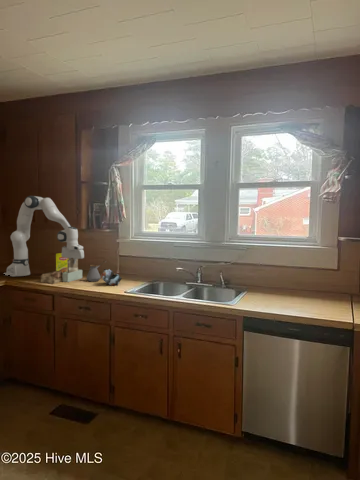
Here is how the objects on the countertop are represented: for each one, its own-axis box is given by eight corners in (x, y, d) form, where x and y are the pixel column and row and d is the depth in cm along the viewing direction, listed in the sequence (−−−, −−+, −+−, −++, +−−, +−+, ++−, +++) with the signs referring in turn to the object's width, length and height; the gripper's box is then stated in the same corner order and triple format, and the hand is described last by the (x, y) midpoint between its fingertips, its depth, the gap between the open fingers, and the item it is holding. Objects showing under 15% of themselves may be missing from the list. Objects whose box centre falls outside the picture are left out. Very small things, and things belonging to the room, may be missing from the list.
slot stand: (62, 281, 279) (62, 272, 278) (77, 277, 296) (77, 269, 296) (67, 282, 277) (67, 273, 277) (82, 277, 294) (82, 269, 294)
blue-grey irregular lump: (117, 286, 265) (108, 271, 262) (104, 291, 269) (95, 276, 266) (124, 277, 278) (116, 262, 275) (112, 282, 283) (104, 267, 279)
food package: (56, 276, 297) (56, 253, 295) (55, 276, 298) (55, 253, 296) (71, 274, 309) (71, 252, 307) (71, 274, 310) (70, 251, 308)
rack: (40, 282, 276) (40, 274, 275) (56, 277, 293) (56, 270, 292) (53, 283, 271) (53, 276, 270) (69, 279, 288) (69, 272, 288)
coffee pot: (94, 282, 277) (94, 264, 275) (83, 281, 282) (83, 262, 280) (111, 278, 295) (111, 260, 294) (100, 276, 301) (100, 259, 299)
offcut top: (52, 277, 275) (52, 273, 275) (56, 275, 285) (56, 271, 285) (57, 277, 275) (57, 273, 275) (61, 275, 285) (61, 271, 285)
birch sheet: (67, 276, 282) (67, 259, 280) (76, 274, 292) (76, 258, 291) (69, 277, 281) (69, 259, 280) (77, 274, 291) (77, 258, 290)
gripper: (59, 246, 285) (59, 263, 286) (80, 247, 278) (80, 264, 279) (64, 245, 291) (65, 261, 292) (85, 247, 284) (85, 263, 285)
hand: (72, 263), depth 286 cm, fingers closed on birch sheet, 2 cm apart
